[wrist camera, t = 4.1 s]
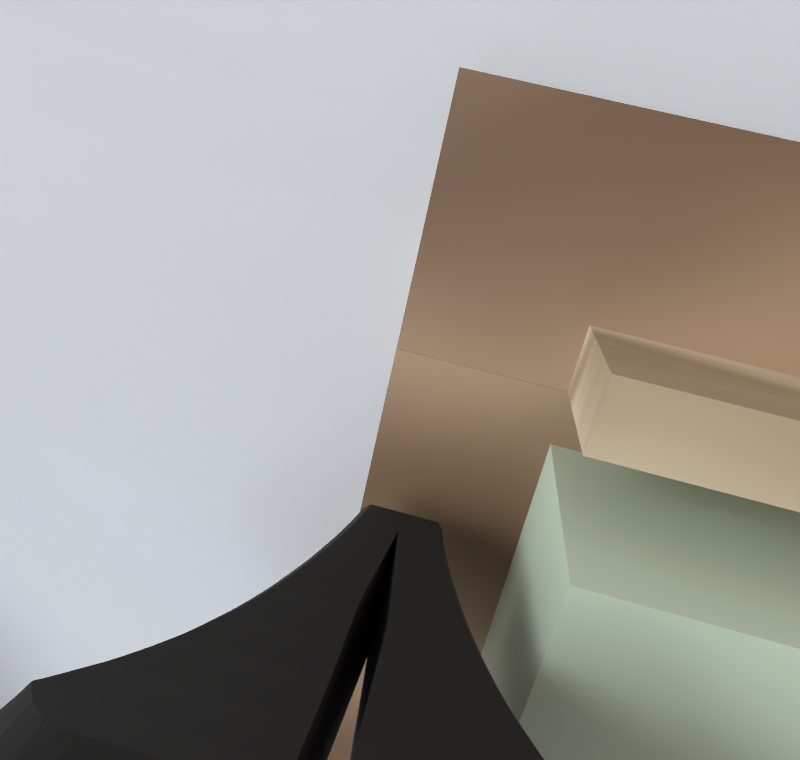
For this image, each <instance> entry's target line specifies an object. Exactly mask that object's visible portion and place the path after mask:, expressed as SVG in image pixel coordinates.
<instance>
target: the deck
mask: <svg viewBox="0 0 800 760" xmlns="http://www.w3.org/2000/svg"><path fill="white" fill-rule="evenodd" d="M550 444H552V445H555V446H559V447H563V448H567V449H571V450H575V451H578V452H582V453H583V456H586V457H590V458H594V459H598V460H601V461H605V462H609V463H613V464H617V465H621V466H624V467H628V468H632V469H636V470H640V471H643V472H647V473H651V474H655V475H659V476H663V477H666V478H670V479H674V480H678V481H682V482H685V483H689V484H693V485H697V486H701V487H705V488H708V489H712V490H716V491H720V492H724V493H727V494H731V495H735V496H739V497H743V498H747V499H750V500H754V501H758V502H762V503H766V504H769V505H773V506H777V507H781V508H785V509H789V510H792V511H796V512H800V142H796V141H791V140H787V139H782V138H778V137H773V136H768V135H764V134H759V133H755V132H750V131H746V130H741V129H737V128H732V127H728V126H723V125H719V124H714V123H710V122H705V121H700V120H696V119H691V118H687V117H682V116H678V115H673V114H669V113H664V112H660V111H655V110H651V109H646V108H642V107H637V106H633V105H628V104H623V103H619V102H614V101H610V100H605V99H601V98H596V97H592V96H587V95H583V94H578V93H574V92H569V91H565V90H560V89H556V88H551V87H546V86H542V85H537V84H533V83H528V82H524V81H519V80H515V79H510V78H506V77H501V76H497V75H492V74H488V73H483V72H479V71H474V70H469V69H465V68H460V67H459V72H458V76H457V81H456V85H455V90H454V94H453V99H452V103H451V108H450V112H449V117H448V121H447V126H446V130H445V135H444V139H443V143H442V148H441V152H440V157H439V161H438V166H437V170H436V175H435V179H434V184H433V188H432V193H431V197H430V202H429V206H428V211H427V215H426V220H425V224H424V229H423V233H422V238H421V242H420V247H419V251H418V256H417V260H416V264H415V269H414V273H413V278H412V282H411V287H410V291H409V296H408V300H407V305H406V309H405V314H404V318H403V323H402V327H401V332H400V336H399V341H398V345H397V349H396V354H395V358H394V363H393V367H392V372H391V376H390V381H389V385H388V389H387V394H386V398H385V403H384V407H383V412H382V416H381V421H380V425H379V430H378V434H377V439H376V443H375V448H374V452H373V457H372V461H371V466H370V470H369V475H368V479H367V484H366V488H365V493H364V497H363V502H362V506H361V510H362V509H363V508H364V507H366V506H368V505H370V504H372V505H376V506H380V507H383V508H387V509H391V510H395V511H398V512H402V513H406V514H409V515H413V516H417V517H420V518H424V519H428V520H432V521H435V522H438V523H439V525H440V527H441V528H442V536H443V544H444V549H445V554H446V558H447V563H448V567H449V571H450V574H451V578H452V581H453V584H454V587H455V590H456V593H457V596H458V599H459V602H460V605H461V608H462V611H463V613H464V616H465V619H466V621H467V624H468V626H469V629H470V631H471V633H472V636H473V638H474V641H475V643H476V645H477V647H478V650H479V652H480V654H481V653H482V650H483V647H484V644H485V641H486V638H487V635H488V632H489V629H490V626H491V623H492V620H493V617H494V614H495V611H496V608H497V605H498V602H499V599H500V596H501V593H502V590H503V587H504V584H505V581H506V578H507V575H508V572H509V569H510V565H511V562H512V559H513V556H514V553H515V550H516V547H517V544H518V541H519V538H520V535H521V532H522V529H523V526H524V523H525V520H526V517H527V514H528V511H529V508H530V505H531V502H532V499H533V496H534V493H535V490H536V487H537V484H538V481H539V478H540V475H541V472H542V469H543V466H544V463H545V459H546V456H547V453H548V450H549V447H550ZM360 512H361V511H360ZM366 661H367V659H366ZM366 661H365V664H364V667H363V669H362V672H361V674H360V677H359V680H358V682H357V685H356V687H355V690H354V692H353V695H352V698H351V700H350V703H349V705H348V708H347V710H346V713H345V715H344V718H343V721H342V723H341V726H340V728H339V731H338V733H337V736H336V738H335V741H334V744H333V746H332V749H331V751H330V754H329V756H328V759H327V760H350V756H351V750H352V744H353V738H354V732H355V727H356V721H357V715H358V709H359V703H360V697H361V691H362V685H363V679H364V673H365V667H366Z"/></svg>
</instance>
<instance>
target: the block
mask: <svg viewBox="0 0 800 760" xmlns="http://www.w3.org/2000/svg"><path fill="white" fill-rule="evenodd" d="M481 656H482V658H483V660H484V662H485V664H486V666H487V668H488V670H489V672H490V674H491V676H492V678H493V680H494V681H495V683H496V685H497V687H498V689H499V691H500V692H501V694H502V696H503V698H504V699H505V701H506V703H507V704H508V706H509V708H510V710H511V711H512V713H513V715H514V716H515V718H516V719H517V720H518V722H519V723H520V725H521V726H522V728H523V729H524V731H525V732H526V734H527V735H528V737H529V738H530V740H531V741H532V743H533V744H534V746H535V747H536V749H537V750H538V752H539V753H540V754H541V756H542V757H543V759H544V760H800V512H796V511H792V510H789V509H785V508H781V507H777V506H773V505H769V504H766V503H762V502H758V501H754V500H750V499H747V498H743V497H739V496H735V495H731V494H727V493H724V492H720V491H716V490H712V489H708V488H705V487H701V486H697V485H693V484H689V483H685V482H682V481H678V480H674V479H670V478H666V477H663V476H659V475H655V474H651V473H647V472H643V471H640V470H636V469H632V468H628V467H624V466H621V465H617V464H613V463H609V462H605V461H601V460H598V459H594V458H590V457H586V456H583V453H582V452H578V451H575V450H571V449H567V448H563V447H559V446H555V445H552V444H550V447H549V450H548V453H547V456H546V459H545V463H544V466H543V469H542V472H541V475H540V478H539V481H538V484H537V487H536V490H535V493H534V496H533V499H532V502H531V505H530V508H529V511H528V514H527V517H526V520H525V523H524V526H523V529H522V532H521V535H520V538H519V541H518V544H517V547H516V550H515V553H514V556H513V559H512V562H511V565H510V569H509V572H508V575H507V578H506V581H505V584H504V587H503V590H502V593H501V596H500V599H499V602H498V605H497V608H496V611H495V614H494V617H493V620H492V623H491V626H490V629H489V632H488V635H487V638H486V641H485V644H484V647H483V650H482V653H481Z"/></svg>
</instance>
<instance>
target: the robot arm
mask: <svg viewBox="0 0 800 760" xmlns="http://www.w3.org/2000/svg"><path fill="white" fill-rule="evenodd" d="M366 659H367V661H366ZM365 661H366V667H365V673H364V679H363V685H362V691H361V697H360V703H359V709H358V715H357V721H356V727H355V732H354V738H353V744H352V750H351V756H350V760H544V759H543V757H542V756H541V754H540V753H539V752H538V750H537V749H536V747H535V746H534V744H533V743H532V741H531V740H530V738H529V737H528V735H527V734H526V732H525V731H524V729H523V728H522V726H521V725H520V723H519V722H518V720H517V719H516V718H515V716H514V715H513V713H512V711H511V710H510V708H509V706H508V704H507V703H506V701H505V699H504V698H503V696H502V694H501V692H500V691H499V689H498V687H497V685H496V683H495V681H494V680H493V678H492V676H491V674H490V672H489V670H488V668H487V666H486V664H485V662H484V660H483V658H482V656H481V654H480V652H479V650H478V647H477V645H476V643H475V641H474V638H473V636H472V633H471V631H470V629H469V626H468V624H467V621H466V619H465V616H464V613H463V611H462V608H461V605H460V602H459V599H458V596H457V593H456V590H455V587H454V584H453V581H452V578H451V574H450V571H449V567H448V563H447V558H446V554H445V549H444V544H443V536H442V528H441V527H440V525H439V523H438V522H435V521H432V520H428V519H424V518H420V517H417V516H413V515H409V514H406V513H402V512H398V511H395V510H391V509H387V508H383V507H380V506H376V505H372V504H370V505H368V506H366V507H364V508H363V509H362V510H361V512H360V513H359V514H358V515H357V516H356V517H355V518H354V519H353V520H352V521H351V522H350V523H349V524H348V525H347V526H346V527H345V528H344V529H343V530H342V531H341V532H340V533H339V534H338V535H337V536H336V537H335V538H334V539H332V540H331V541H330V542H329V543H328V544H327V545H325V546H324V547H323V548H322V549H321V550H320V551H318V552H317V553H316V554H315V555H314V556H312V557H311V558H310V559H309V560H307V561H306V562H305V563H303V564H302V565H301V566H299V567H298V568H297V569H295V570H294V571H292V572H291V573H290V574H288V575H287V576H286V577H284V578H283V579H281V580H280V581H279V582H277V583H276V584H274V585H273V586H271V587H270V588H268V589H267V590H265V591H264V592H262V593H260V594H259V595H257V596H255V597H254V598H252V599H250V600H249V601H247V602H245V603H243V604H242V605H240V606H238V607H237V608H235V609H233V610H231V611H229V612H227V613H225V614H223V615H221V616H219V617H217V618H215V619H213V620H211V621H209V622H207V623H205V624H203V625H201V626H199V627H197V628H195V629H193V630H191V631H189V632H186V633H184V634H182V635H179V636H177V637H174V638H172V639H169V640H167V641H164V642H162V643H159V644H156V645H154V646H151V647H148V648H145V649H142V650H140V651H137V652H134V653H131V654H128V655H125V656H122V657H119V658H116V659H113V660H109V661H106V662H103V663H99V664H95V665H92V666H88V667H84V668H81V669H77V670H73V671H69V672H66V673H62V674H58V675H55V676H51V677H47V678H43V679H38V680H34V681H32V682H30V683H29V684H28V685H27V686H26V687H25V688H24V689H23V690H22V691H21V692H20V693H19V694H18V695H17V696H16V697H15V698H13V699H12V700H11V701H10V702H9V703H8V704H6V705H5V706H4V707H3V708H2V709H1V710H0V760H327V759H328V756H329V754H330V751H331V749H332V746H333V744H334V741H335V738H336V736H337V733H338V731H339V728H340V726H341V723H342V721H343V718H344V715H345V713H346V710H347V708H348V705H349V703H350V700H351V698H352V695H353V692H354V690H355V687H356V685H357V682H358V680H359V677H360V674H361V672H362V669H363V667H364V664H365Z"/></svg>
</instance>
